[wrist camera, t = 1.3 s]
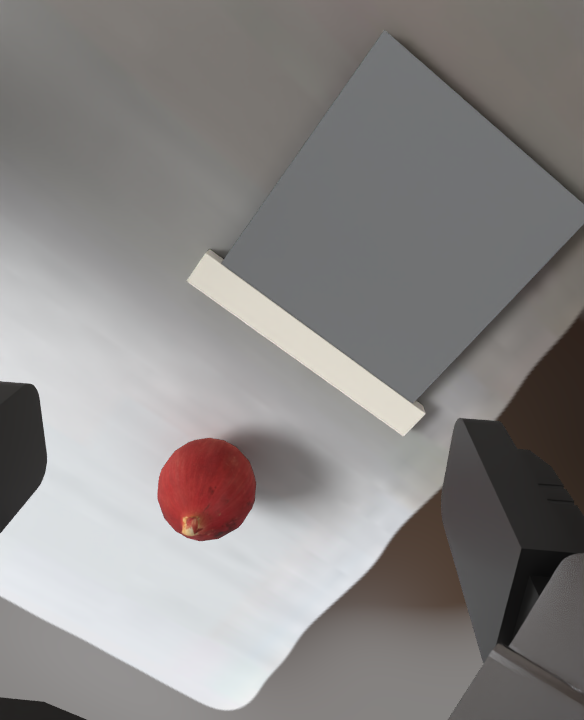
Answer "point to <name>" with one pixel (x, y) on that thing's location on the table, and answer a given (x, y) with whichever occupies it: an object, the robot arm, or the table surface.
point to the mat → (392, 237)
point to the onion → (206, 489)
